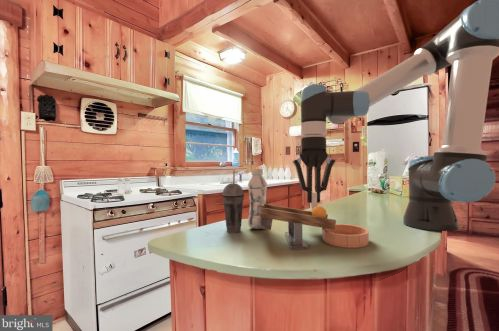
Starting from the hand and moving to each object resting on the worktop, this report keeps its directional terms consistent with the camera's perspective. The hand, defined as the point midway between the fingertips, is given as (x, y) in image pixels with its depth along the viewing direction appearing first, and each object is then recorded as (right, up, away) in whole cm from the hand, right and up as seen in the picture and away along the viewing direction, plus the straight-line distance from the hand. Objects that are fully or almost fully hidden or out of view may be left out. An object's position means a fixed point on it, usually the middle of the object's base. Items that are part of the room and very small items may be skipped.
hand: (313, 213), depth 78 cm
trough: (-8, -3, -4) cm, 9 cm away
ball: (0, +1, -8) cm, 8 cm away
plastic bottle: (-17, -7, +7) cm, 19 cm away
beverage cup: (-25, -7, +5) cm, 26 cm away
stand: (-7, -7, -7) cm, 12 cm away
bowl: (+7, -6, -7) cm, 12 cm away
